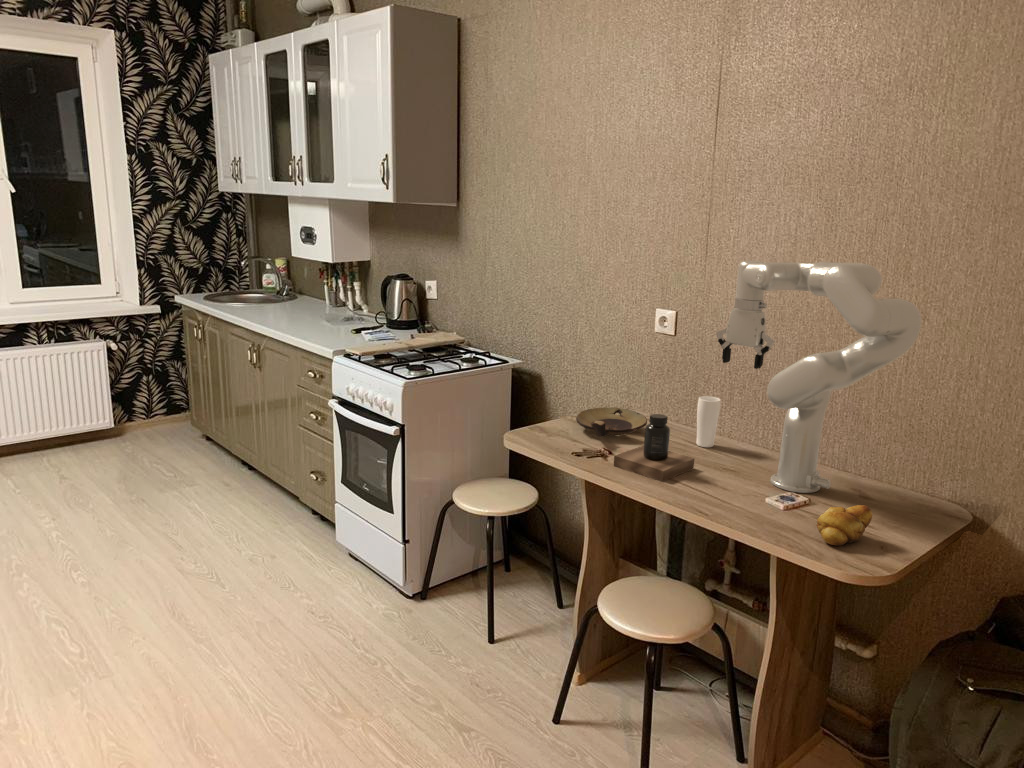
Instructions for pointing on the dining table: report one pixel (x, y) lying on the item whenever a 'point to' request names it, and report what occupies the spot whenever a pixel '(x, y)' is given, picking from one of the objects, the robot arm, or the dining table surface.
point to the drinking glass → (707, 420)
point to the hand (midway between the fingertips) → (741, 365)
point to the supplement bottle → (656, 438)
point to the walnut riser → (653, 464)
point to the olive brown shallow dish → (611, 421)
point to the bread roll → (843, 524)
